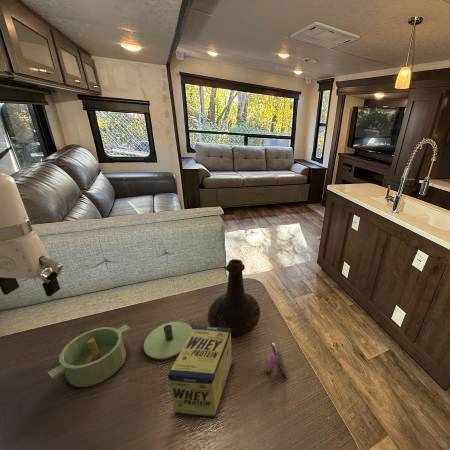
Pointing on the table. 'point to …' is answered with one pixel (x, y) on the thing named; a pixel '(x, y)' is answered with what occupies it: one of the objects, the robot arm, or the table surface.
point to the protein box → (201, 372)
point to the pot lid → (167, 340)
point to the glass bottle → (235, 305)
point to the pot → (79, 352)
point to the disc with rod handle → (94, 352)
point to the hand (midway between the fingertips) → (33, 291)
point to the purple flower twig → (274, 360)
